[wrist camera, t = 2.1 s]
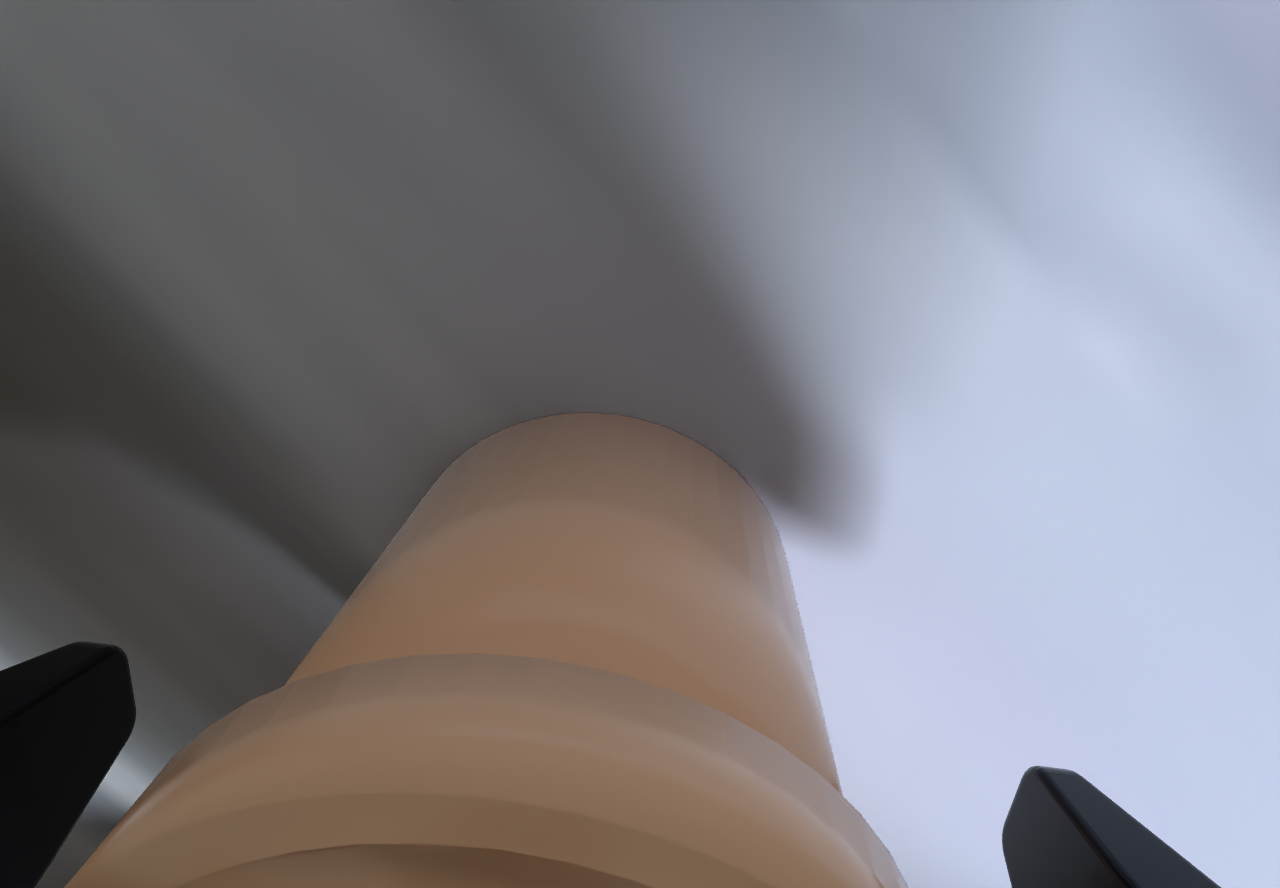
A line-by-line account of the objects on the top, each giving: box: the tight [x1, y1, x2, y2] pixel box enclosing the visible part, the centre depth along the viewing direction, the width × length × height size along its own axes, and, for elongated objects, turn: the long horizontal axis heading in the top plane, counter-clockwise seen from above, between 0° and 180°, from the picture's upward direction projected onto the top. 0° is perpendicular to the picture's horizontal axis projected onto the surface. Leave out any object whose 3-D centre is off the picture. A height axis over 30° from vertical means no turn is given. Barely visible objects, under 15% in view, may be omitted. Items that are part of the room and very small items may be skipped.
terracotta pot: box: [64, 412, 908, 888], centre depth 7 cm, size 6×6×6 cm
